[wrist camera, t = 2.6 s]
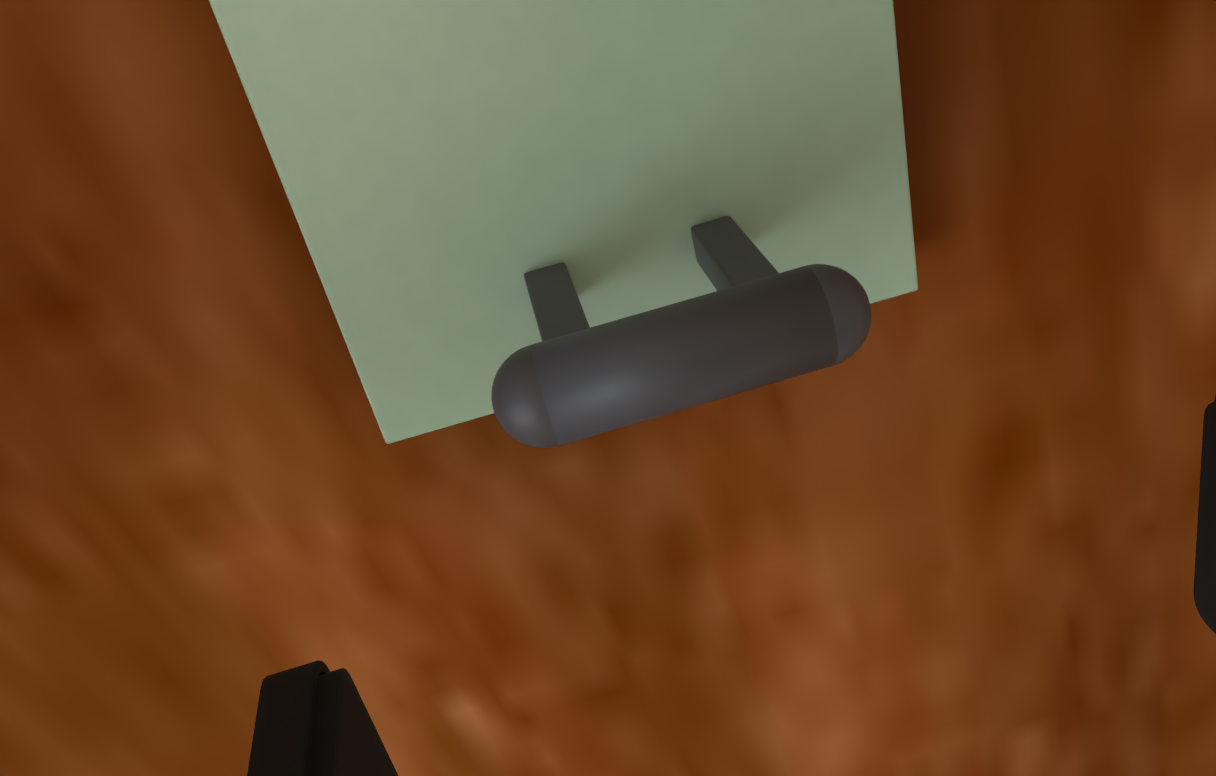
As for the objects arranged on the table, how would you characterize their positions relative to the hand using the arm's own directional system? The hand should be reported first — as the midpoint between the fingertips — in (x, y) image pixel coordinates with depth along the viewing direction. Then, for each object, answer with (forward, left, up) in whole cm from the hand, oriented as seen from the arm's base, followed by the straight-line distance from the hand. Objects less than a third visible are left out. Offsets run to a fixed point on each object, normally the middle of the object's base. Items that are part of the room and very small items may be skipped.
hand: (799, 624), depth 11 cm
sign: (-4, -2, -11) cm, 12 cm away
